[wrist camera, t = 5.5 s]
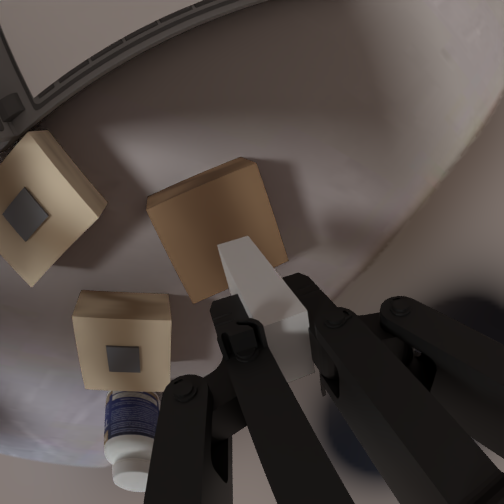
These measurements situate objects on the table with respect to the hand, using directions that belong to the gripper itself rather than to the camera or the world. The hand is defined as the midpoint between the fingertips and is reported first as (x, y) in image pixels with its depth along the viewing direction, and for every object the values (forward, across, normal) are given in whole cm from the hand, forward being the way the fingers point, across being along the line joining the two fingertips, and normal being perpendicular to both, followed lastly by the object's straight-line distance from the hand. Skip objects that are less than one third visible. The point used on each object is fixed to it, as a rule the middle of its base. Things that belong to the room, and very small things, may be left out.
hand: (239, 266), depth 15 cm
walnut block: (+9, 0, 0) cm, 9 cm away
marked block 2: (+9, -9, -7) cm, 15 cm away
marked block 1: (+9, -11, +5) cm, 15 cm away
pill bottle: (+9, -12, -15) cm, 21 cm away
